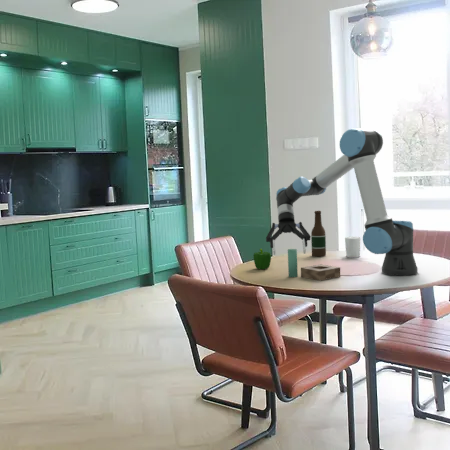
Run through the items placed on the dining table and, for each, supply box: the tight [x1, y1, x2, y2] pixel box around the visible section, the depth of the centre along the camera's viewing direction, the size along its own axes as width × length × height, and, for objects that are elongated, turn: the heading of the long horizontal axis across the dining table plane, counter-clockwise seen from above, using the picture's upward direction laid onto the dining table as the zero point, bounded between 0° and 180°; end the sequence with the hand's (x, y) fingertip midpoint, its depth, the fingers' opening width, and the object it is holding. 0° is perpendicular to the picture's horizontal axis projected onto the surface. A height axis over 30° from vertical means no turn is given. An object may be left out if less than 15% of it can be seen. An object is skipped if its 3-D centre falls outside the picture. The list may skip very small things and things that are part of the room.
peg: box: [287, 248, 299, 278], centre depth 258 cm, size 4×4×12 cm
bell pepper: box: [253, 248, 272, 270], centre depth 280 cm, size 8×8×10 cm
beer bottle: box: [310, 210, 327, 258], centre depth 310 cm, size 8×8×24 cm
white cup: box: [344, 236, 362, 258], centre depth 304 cm, size 8×8×10 cm
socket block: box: [300, 263, 341, 282], centre depth 256 cm, size 12×12×4 cm
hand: (289, 252), depth 263 cm, fingers open, 13 cm apart
